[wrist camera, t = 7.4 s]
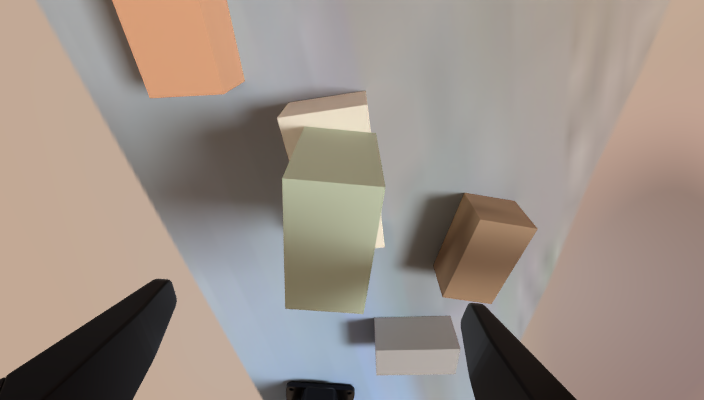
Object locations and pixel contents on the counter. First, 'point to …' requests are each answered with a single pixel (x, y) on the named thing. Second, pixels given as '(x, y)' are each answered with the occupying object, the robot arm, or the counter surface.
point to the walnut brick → (482, 248)
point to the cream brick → (326, 122)
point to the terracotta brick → (182, 46)
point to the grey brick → (415, 345)
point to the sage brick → (331, 219)
